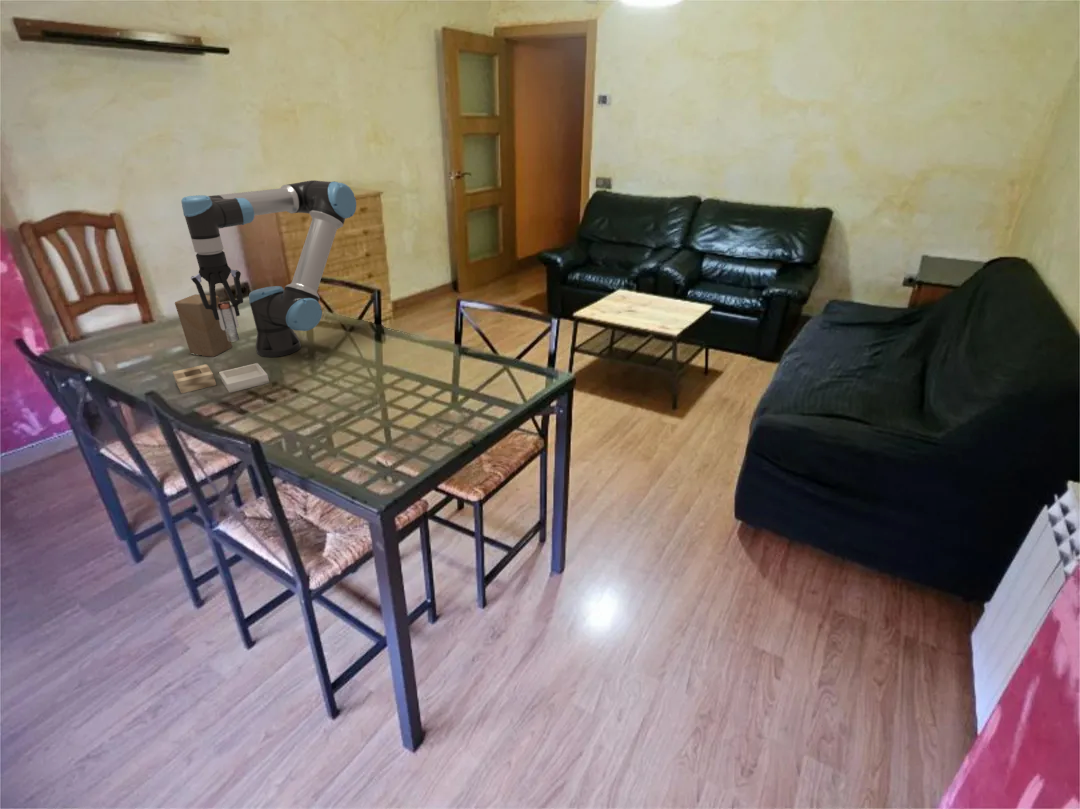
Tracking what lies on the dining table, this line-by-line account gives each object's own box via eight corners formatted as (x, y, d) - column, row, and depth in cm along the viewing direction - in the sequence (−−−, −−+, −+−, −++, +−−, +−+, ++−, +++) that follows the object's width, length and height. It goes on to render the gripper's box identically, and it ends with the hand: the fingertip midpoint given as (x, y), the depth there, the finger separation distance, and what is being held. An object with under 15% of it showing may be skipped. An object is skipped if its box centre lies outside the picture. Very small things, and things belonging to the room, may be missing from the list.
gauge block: (210, 374, 189) (206, 364, 188) (216, 385, 182) (213, 373, 181) (176, 382, 184) (172, 371, 182) (181, 393, 177) (177, 382, 175)
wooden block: (214, 357, 203) (198, 303, 194) (190, 355, 205) (173, 302, 196) (233, 347, 212) (218, 295, 202) (209, 345, 213) (194, 293, 204)
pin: (237, 337, 180) (228, 300, 174) (240, 340, 178) (230, 303, 172) (226, 339, 178) (216, 302, 173) (229, 342, 176) (218, 305, 170)
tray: (259, 371, 192) (257, 362, 191) (269, 382, 184) (267, 374, 182) (221, 380, 186) (218, 372, 184) (229, 393, 177) (227, 384, 176)
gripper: (236, 246, 172) (254, 319, 183) (175, 253, 163) (198, 330, 174) (242, 250, 167) (261, 325, 178) (180, 258, 158) (203, 336, 169)
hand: (230, 327), depth 176 cm, fingers closed on pin, 3 cm apart
